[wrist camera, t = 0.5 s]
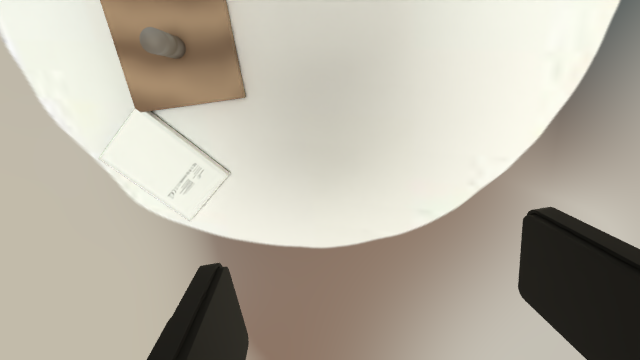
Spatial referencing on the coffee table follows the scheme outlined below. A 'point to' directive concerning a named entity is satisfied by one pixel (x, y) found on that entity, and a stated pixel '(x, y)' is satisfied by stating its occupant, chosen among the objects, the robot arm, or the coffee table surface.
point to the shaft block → (175, 51)
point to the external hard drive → (164, 163)
